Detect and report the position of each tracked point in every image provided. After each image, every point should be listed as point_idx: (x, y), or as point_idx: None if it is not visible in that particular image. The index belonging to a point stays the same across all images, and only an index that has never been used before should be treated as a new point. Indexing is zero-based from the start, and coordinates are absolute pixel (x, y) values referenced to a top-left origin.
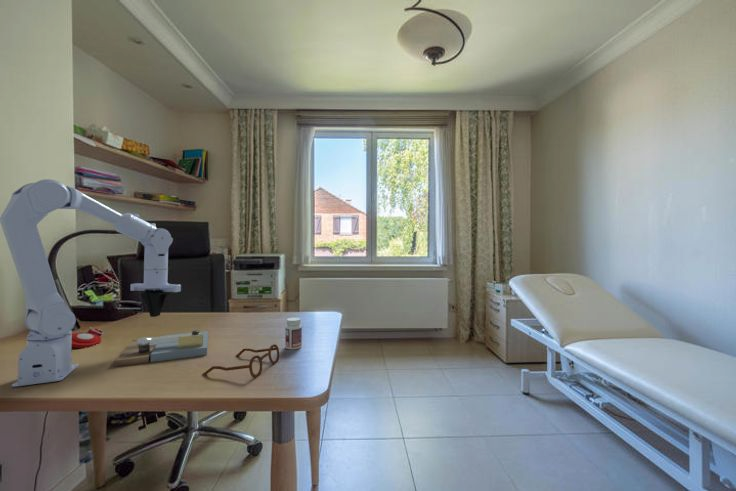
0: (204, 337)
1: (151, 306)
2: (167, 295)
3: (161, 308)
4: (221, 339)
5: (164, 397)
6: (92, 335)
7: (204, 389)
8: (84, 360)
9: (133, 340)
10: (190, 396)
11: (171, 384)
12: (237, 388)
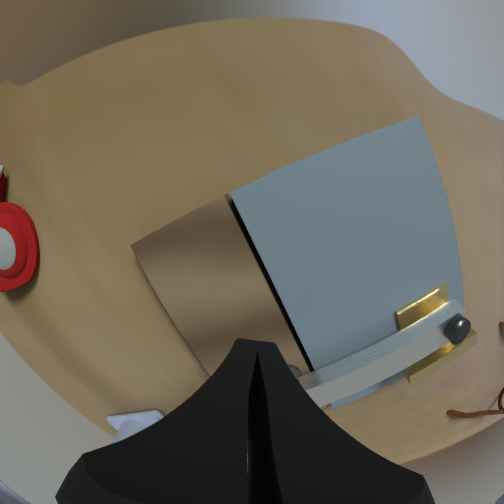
0: (444, 227)
1: (248, 460)
2: (391, 478)
3: (291, 376)
4: (457, 162)
5: (405, 462)
6: (4, 231)
7: (447, 437)
8: (129, 375)
9: (135, 250)
10: (432, 451)
11: (407, 444)
12: (477, 422)
